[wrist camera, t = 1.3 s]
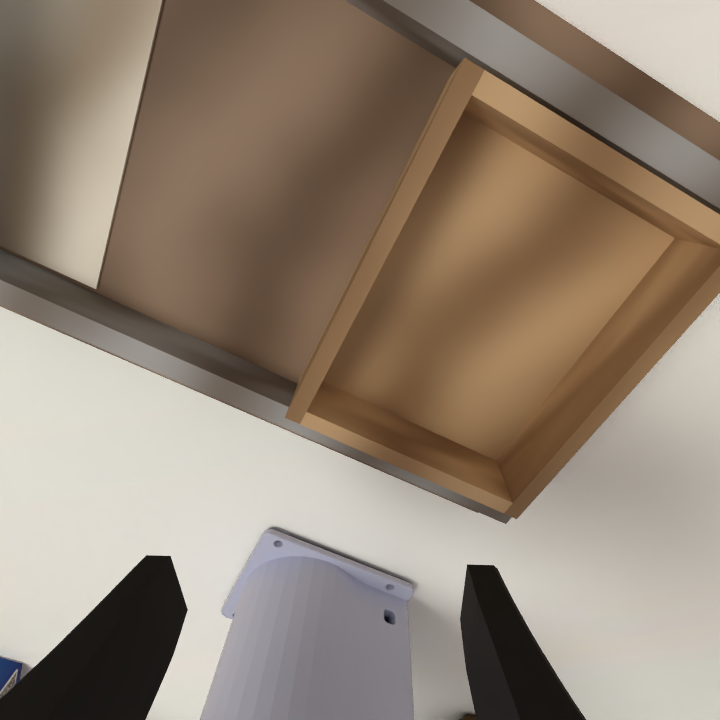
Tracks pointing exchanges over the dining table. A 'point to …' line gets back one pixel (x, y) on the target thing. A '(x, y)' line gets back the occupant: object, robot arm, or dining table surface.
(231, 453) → the dining table surface
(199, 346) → the bay
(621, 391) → the box
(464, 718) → the brown knobbed bar
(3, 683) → the beverage box
